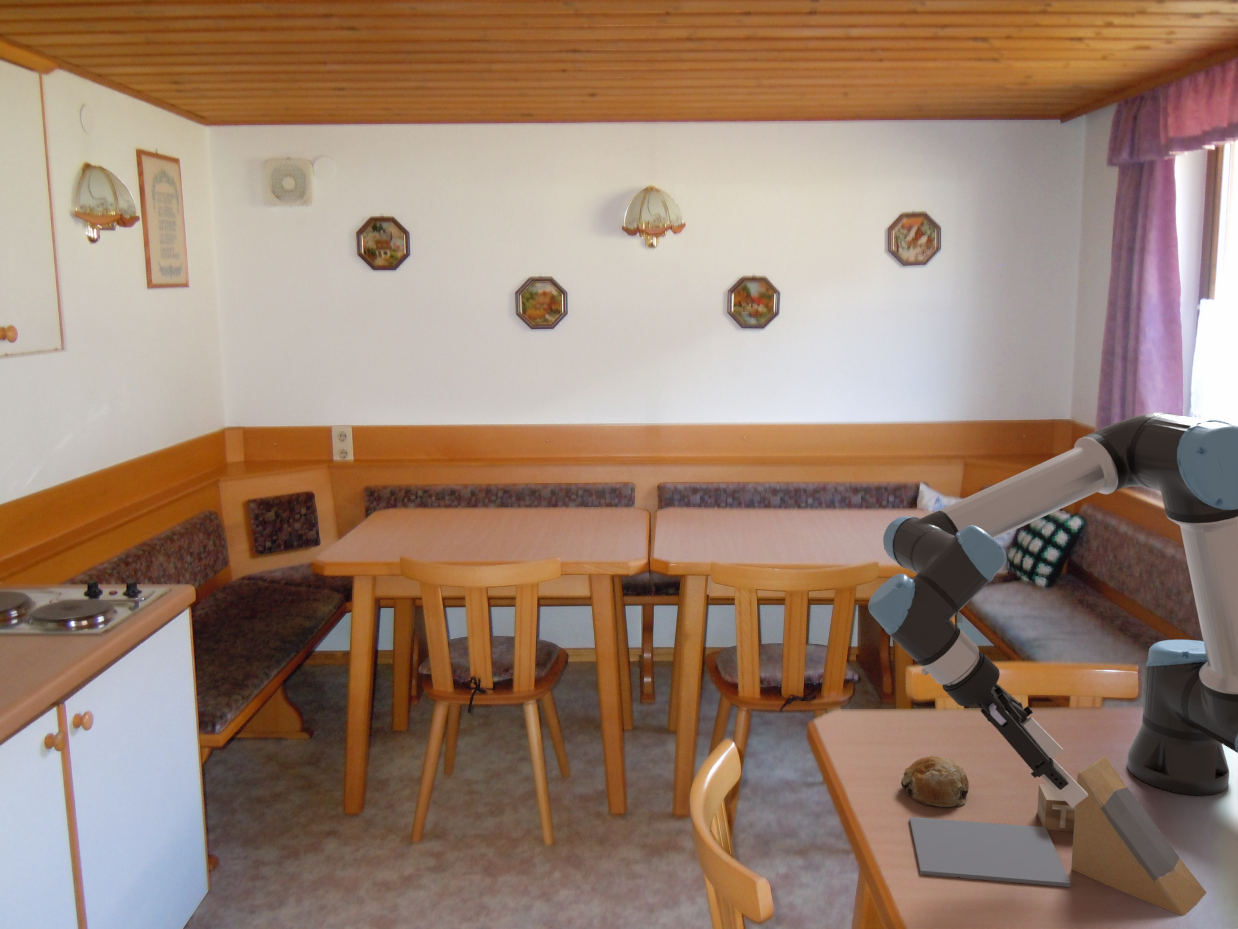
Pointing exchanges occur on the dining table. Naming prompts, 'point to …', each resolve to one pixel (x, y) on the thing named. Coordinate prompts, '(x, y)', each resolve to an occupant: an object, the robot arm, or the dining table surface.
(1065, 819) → the wooden letter cube
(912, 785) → the bread roll
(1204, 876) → the dining table surface
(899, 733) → the dining table surface
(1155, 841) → the sandwich container
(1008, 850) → the grey rubber mat
